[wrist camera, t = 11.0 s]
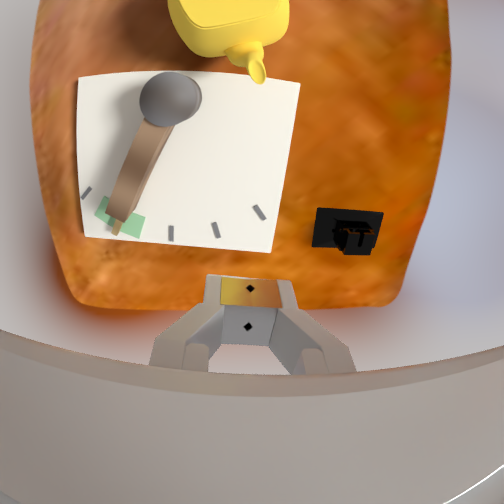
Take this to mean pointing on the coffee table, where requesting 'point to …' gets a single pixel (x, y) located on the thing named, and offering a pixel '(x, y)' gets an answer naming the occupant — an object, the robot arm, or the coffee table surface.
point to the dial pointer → (152, 138)
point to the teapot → (231, 29)
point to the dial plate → (190, 160)
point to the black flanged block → (347, 230)
